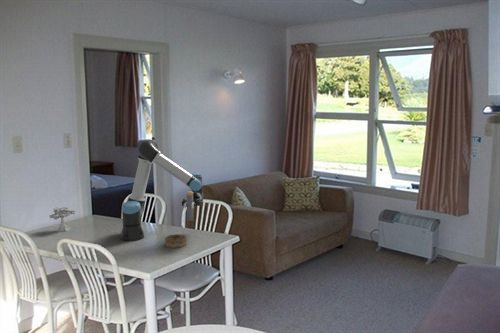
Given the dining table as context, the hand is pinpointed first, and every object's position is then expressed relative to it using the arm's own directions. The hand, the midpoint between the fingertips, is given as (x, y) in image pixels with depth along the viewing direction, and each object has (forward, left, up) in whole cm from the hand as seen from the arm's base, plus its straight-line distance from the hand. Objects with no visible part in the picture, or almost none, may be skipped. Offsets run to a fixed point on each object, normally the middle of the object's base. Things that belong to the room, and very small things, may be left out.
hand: (188, 206), depth 299 cm
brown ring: (-3, -8, -24) cm, 26 cm away
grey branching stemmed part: (-74, -69, -24) cm, 104 cm away
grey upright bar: (-5, +2, -10) cm, 11 cm away
